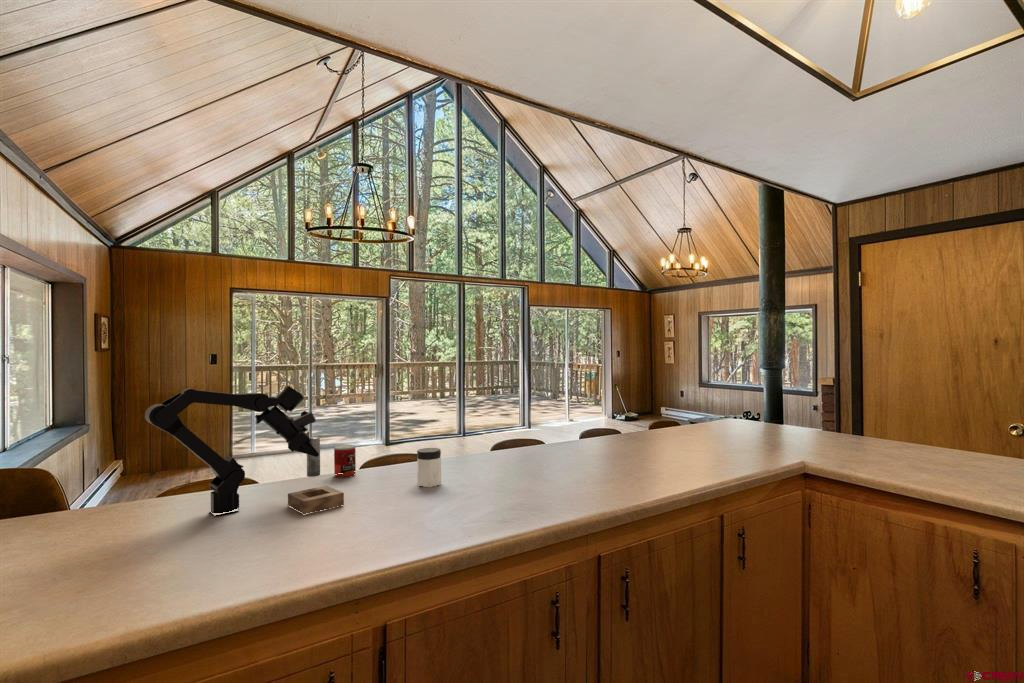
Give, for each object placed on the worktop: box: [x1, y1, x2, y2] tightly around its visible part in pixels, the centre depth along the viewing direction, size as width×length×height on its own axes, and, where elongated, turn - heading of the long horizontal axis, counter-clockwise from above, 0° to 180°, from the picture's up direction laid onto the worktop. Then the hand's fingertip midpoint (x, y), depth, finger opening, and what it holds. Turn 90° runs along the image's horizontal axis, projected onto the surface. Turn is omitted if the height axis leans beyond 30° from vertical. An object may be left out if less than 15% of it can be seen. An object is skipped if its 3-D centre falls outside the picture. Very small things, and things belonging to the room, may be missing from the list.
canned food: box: [333, 444, 357, 479], centre depth 189 cm, size 8×8×11 cm
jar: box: [416, 447, 442, 488], centre depth 174 cm, size 9×8×12 cm
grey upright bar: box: [306, 436, 321, 478], centre depth 161 cm, size 4×4×12 cm
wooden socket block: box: [287, 485, 345, 514], centre depth 151 cm, size 12×12×4 cm
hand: (318, 454), depth 162 cm, fingers closed on grey upright bar, 4 cm apart
